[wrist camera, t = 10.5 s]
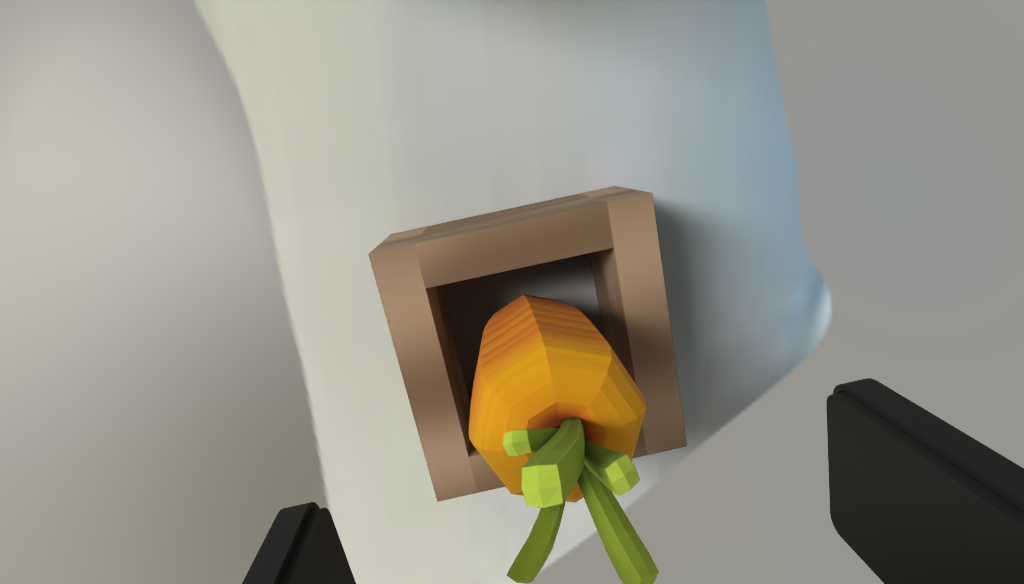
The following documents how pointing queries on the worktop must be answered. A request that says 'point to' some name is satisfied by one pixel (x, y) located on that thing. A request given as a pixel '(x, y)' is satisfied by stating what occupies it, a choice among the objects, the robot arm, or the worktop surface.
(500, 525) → the worktop surface
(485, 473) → the holder
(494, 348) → the carrot
